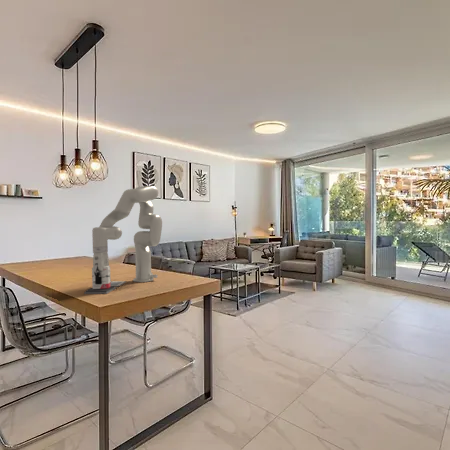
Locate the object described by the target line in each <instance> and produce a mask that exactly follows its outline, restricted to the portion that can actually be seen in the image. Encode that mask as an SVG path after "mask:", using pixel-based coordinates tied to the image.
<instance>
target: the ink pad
mask: <svg viewBox="0 0 450 450" xmlns="http://www.w3.org/2000/svg"><path fill="white" fill-rule="evenodd" d="M116 287H117V286H111V287H110V288H106V289H93V288H92V287H90V288H89V289H88V288H87V289H86V290H85V291H84V294H85V295H95V294H96V295H98V294H99V295H100V294H101V295H104V294H105V295H107V294H109V293H111V292H112V291H114V290H116Z"/></svg>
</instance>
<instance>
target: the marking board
mask: <svg viewBox="0 0 450 450" xmlns="http://www.w3.org/2000/svg"><path fill="white" fill-rule="evenodd" d="M125 283H127V281H126V280H125V281H123V280H121V281H120V280H119V281H118V280H115V281H114V280H113V281H111V286H114V287H120V286H121V285H124V284H125Z"/></svg>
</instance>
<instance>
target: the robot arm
mask: <svg viewBox="0 0 450 450" xmlns="http://www.w3.org/2000/svg"><path fill="white" fill-rule="evenodd" d="M158 196H159V190H158V188H157V187H156V186H154V185H148V186H147V185H145V186H137V187H135V188H132V189H131V188H129V189H126V190H124V191H123V193H122V195H121V197H120V198H119V200H118V202H117V204H116V206H115V208H114V209H113V210H111V211H110V212H109V213H108V214H107V215H106V216H105V217H104V218H103V219H102V221H101V222H100V225H99V226H97V227H92V232H91V233H92V235H91V236H92V254H93V255H92V256H93V258H92V268H93V270H94V271H93V272H94V274H95V284H102V277H101V271H104V267H106V266H110V265H109V264H110V262H109V259H110V258H109V253H108V250H109V249H108V242H109V241H108V240H112V241H114V240H119V239H120V238H121V237H122V234H123V231H122V229H121V228H120V227H119V226H114V225H116V223H117V222H119V221H122V220H123V219H125V218H127V217H129V216H130V214H131V211H132V209H133V207H134V205H135V204H139V215H138V223H137V224H138V227H139V228H140V229H143V230H140V231H137V232H136V233H134V236H133V243H134V249H135V277H134V278H133V279H132V281H133V282H135V283H147V282H149V283H150V282H152V281H154V278H155V279H157V278H158V274H153V272H152V252H151V248H150V247H157V246H158V245H159V244H160V242H161V237H162V229H163V220H162V218H161V215H159V214H157V213H155V214H154V204H153V202H152V200H156V199H157V198H158ZM97 270H100V271H97ZM98 272H99V273H98Z"/></svg>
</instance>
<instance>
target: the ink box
mask: <svg viewBox="0 0 450 450" xmlns="http://www.w3.org/2000/svg"><path fill="white" fill-rule="evenodd" d="M93 271H94V270H93V267H91V277H92V279H91V283H92V285H91V286H92V287H91V288H93V289H106V288H110V287H111V265H109V266H106V267H104V271H101V277H102V284H95V274H94V272H93ZM97 271H100V270H97ZM98 273H99V272H98Z"/></svg>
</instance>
